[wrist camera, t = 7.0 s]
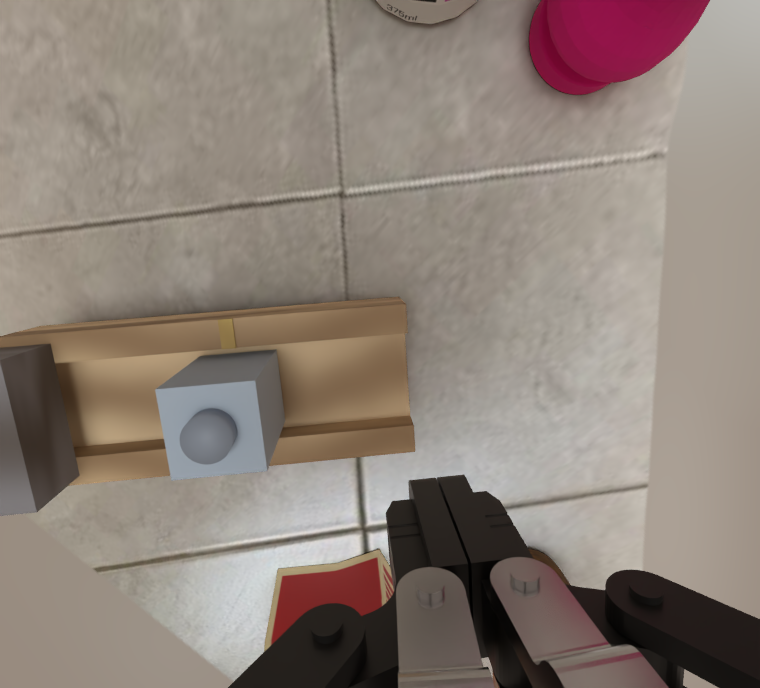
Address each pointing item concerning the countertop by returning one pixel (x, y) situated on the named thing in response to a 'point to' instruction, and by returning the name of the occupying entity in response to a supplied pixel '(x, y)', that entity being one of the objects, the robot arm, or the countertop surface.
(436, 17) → the supplement can
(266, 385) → the rider
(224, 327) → the beam
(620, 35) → the pepper mill
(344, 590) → the milk carton
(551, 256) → the countertop surface
